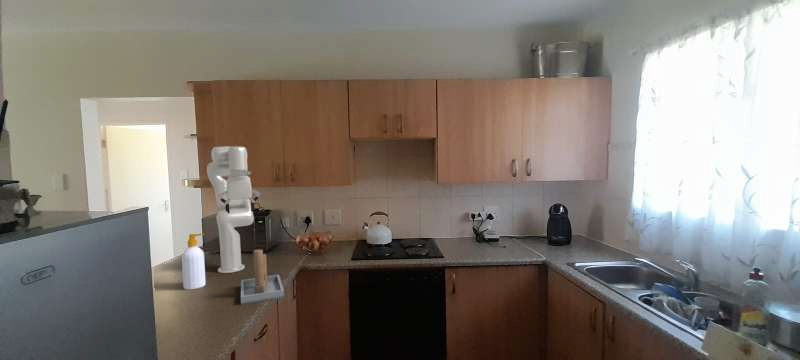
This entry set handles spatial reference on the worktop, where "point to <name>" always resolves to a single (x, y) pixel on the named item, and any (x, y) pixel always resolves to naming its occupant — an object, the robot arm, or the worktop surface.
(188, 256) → the soap bottle
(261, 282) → the wooden mallet
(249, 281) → the tray
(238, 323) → the worktop surface
